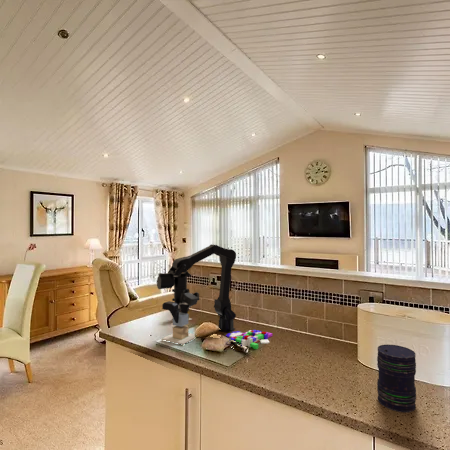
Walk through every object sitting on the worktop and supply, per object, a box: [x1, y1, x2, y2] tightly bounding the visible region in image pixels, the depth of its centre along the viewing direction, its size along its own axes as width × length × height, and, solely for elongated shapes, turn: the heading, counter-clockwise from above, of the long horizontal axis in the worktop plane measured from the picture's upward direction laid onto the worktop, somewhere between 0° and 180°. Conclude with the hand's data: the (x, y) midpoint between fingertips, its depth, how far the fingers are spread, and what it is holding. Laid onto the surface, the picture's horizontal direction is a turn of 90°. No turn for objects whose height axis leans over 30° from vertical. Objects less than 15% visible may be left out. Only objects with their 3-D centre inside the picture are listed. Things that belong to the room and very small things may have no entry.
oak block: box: [172, 325, 189, 339], centre depth 144 cm, size 5×5×4 cm
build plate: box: [160, 332, 195, 346], centre depth 144 cm, size 12×12×1 cm
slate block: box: [172, 312, 189, 327], centre depth 144 cm, size 5×5×4 cm
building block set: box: [225, 329, 273, 350], centre depth 143 cm, size 25×20×4 cm
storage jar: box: [376, 344, 417, 413], centre depth 92 cm, size 10×10×15 cm
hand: (180, 321), depth 144 cm, fingers closed on slate block, 5 cm apart
